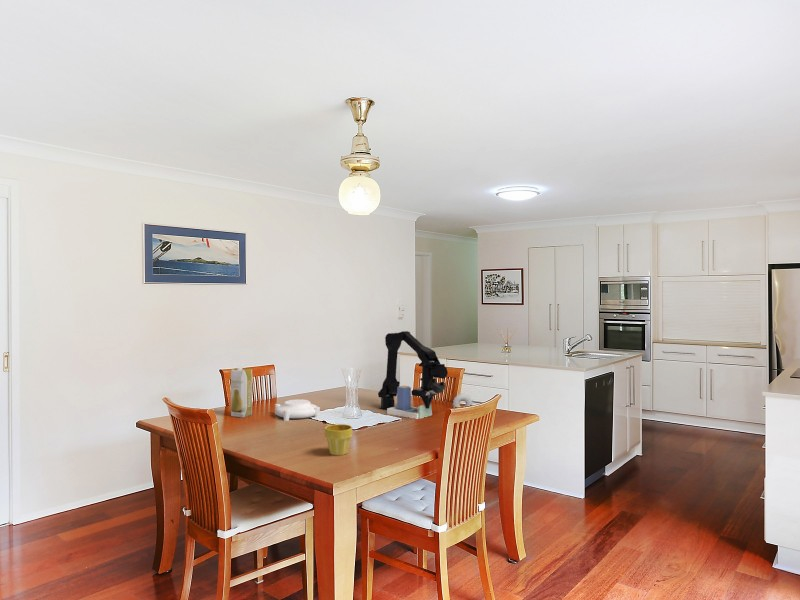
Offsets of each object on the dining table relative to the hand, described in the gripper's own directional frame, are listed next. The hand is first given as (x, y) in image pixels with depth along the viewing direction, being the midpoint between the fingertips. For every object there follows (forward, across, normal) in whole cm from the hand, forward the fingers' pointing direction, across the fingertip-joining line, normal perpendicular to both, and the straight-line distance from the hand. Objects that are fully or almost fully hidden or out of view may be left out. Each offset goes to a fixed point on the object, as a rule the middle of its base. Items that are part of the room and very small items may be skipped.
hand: (427, 408), depth 272 cm
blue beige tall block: (+3, 0, +15) cm, 15 cm away
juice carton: (+5, -57, +70) cm, 91 cm away
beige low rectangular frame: (+4, 0, +11) cm, 12 cm away
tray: (+4, 0, +11) cm, 11 cm away
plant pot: (+5, -70, -11) cm, 71 cm away
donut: (+5, +19, -8) cm, 21 cm away
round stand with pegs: (+5, -39, +51) cm, 64 cm away
